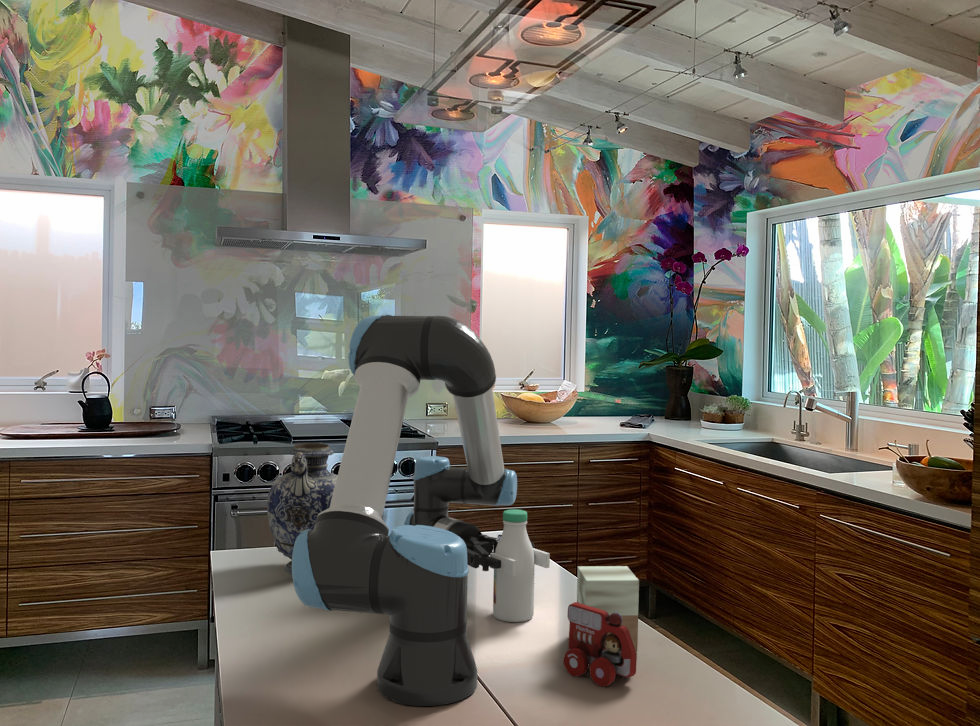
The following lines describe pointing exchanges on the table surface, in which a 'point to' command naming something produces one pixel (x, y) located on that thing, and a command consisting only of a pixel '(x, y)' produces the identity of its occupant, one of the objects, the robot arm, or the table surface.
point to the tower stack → (611, 593)
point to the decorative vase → (300, 496)
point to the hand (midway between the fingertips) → (531, 564)
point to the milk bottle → (518, 590)
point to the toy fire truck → (598, 645)
